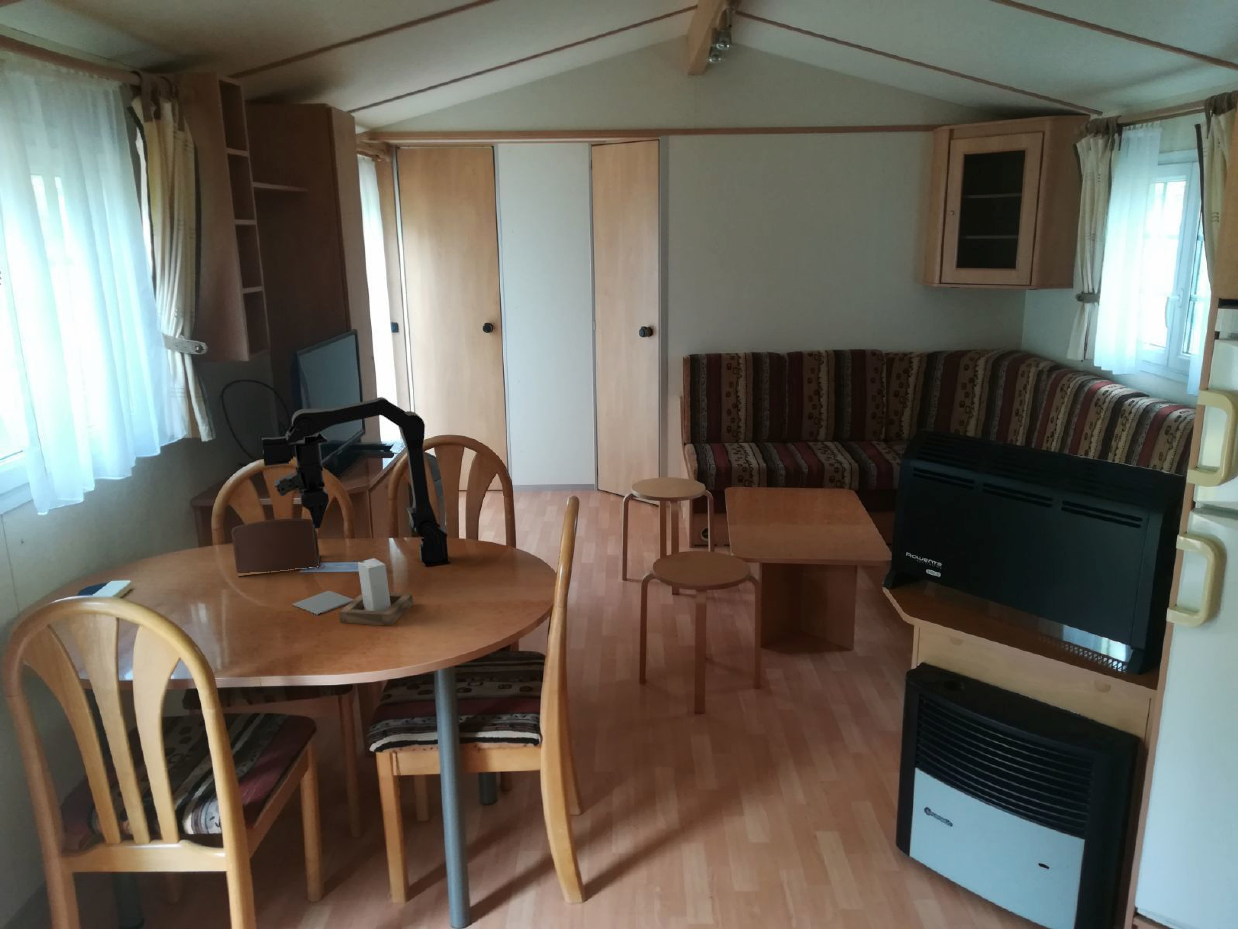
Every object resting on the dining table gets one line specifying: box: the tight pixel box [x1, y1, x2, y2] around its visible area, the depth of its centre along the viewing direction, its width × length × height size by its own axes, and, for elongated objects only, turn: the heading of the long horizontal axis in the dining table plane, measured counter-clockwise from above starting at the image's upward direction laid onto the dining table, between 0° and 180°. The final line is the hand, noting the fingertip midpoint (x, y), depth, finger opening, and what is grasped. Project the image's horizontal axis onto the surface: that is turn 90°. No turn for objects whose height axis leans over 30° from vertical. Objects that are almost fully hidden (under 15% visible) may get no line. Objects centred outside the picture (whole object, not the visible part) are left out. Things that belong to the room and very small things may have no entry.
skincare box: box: [357, 557, 391, 611], centre depth 205 cm, size 6×4×12 cm
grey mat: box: [291, 590, 355, 616], centre depth 213 cm, size 10×10×1 cm
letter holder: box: [231, 518, 320, 574], centre depth 237 cm, size 10×20×14 cm, turn 106°
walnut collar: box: [338, 592, 414, 626], centre depth 206 cm, size 12×12×2 cm
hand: (316, 523), depth 225 cm, fingers open, 9 cm apart
